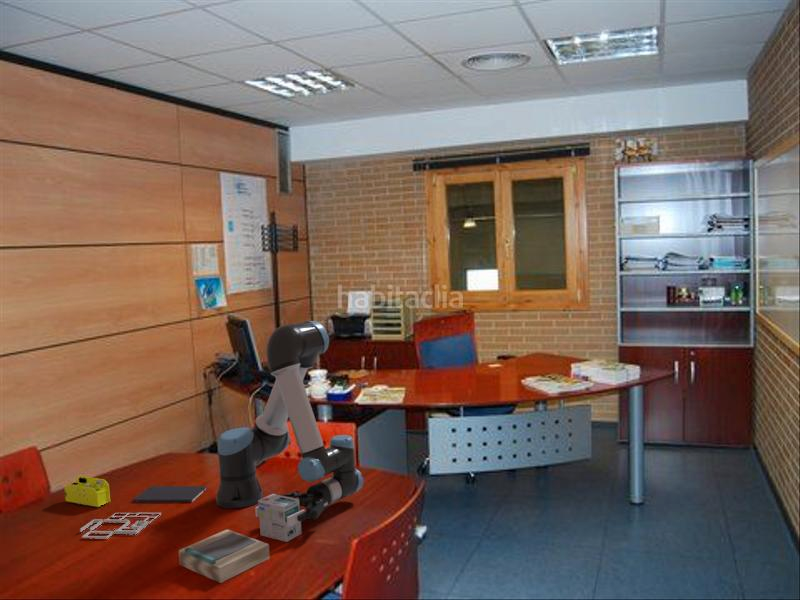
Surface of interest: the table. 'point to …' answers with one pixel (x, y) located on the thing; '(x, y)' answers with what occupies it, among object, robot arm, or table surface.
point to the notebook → (170, 494)
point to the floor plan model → (119, 531)
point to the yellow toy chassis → (88, 491)
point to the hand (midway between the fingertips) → (271, 517)
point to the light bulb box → (278, 517)
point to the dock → (224, 555)
